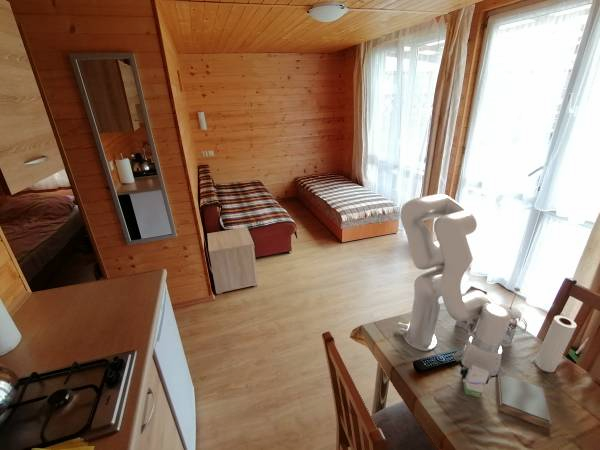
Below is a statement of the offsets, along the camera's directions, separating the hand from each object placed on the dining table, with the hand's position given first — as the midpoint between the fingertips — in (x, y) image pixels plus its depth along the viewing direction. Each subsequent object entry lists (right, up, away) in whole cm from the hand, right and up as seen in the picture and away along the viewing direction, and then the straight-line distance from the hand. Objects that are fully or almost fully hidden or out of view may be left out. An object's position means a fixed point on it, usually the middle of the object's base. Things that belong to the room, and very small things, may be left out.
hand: (472, 379), depth 101 cm
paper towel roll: (+32, +1, +8) cm, 33 cm away
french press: (+24, +6, +20) cm, 32 cm away
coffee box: (+14, +10, +28) cm, 33 cm away
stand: (+13, -5, -4) cm, 15 cm away
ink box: (0, -3, +1) cm, 3 cm away
